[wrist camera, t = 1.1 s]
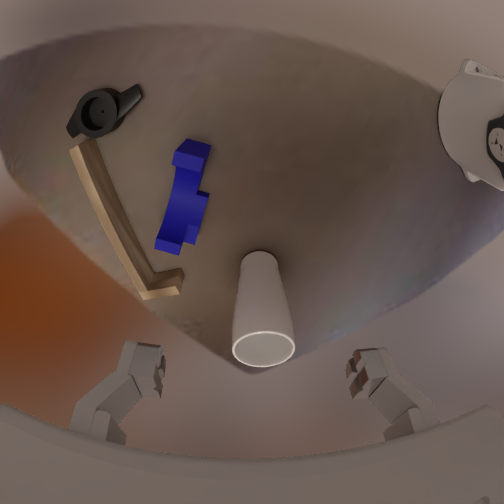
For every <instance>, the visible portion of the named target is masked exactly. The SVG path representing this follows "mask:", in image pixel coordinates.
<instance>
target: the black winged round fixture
mask: <svg viewBox="0 0 504 504" xmlns="http://www.w3.org/2000/svg"><path fill="white" fill-rule="evenodd" d="M140 99H141V93H140V90H139V87H138V85H137V84H136V85H134V86H132V87H131V88H129V89H127V90H125V91H123V92H121V93H119V92H118V91H116V90H115V89H111V88H104V89H98V90H93V91H90V92H88V93H86V94H85V95H84V96H83V97H82V98H81V99H80V101H79V102H78V104H77V107H76V110H75V111H74V113H73V115H72V117H71V118H70V120H69V123H68V125H67V127H66V128H67V131H68V133H69V134H70V136H71V137H72V138H74V137H75V136H77V135H78V134H79V133H81V132H82V133H83V134H84V135H86V136H88V137H91V138H98V137H102V136H104V135H106V134H108V133H110V132H112V131H114V130H115V129H117V128H118V127H119V126H120V125H121V123H122V122H123V120H124V118H125V114H126V113H127V112H128V111H129V110H130V109H131V108H132V107H133V106H134V105H135V104H136V103H137V102H138V101H139V100H140ZM104 111H105V112H104Z"/></svg>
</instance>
